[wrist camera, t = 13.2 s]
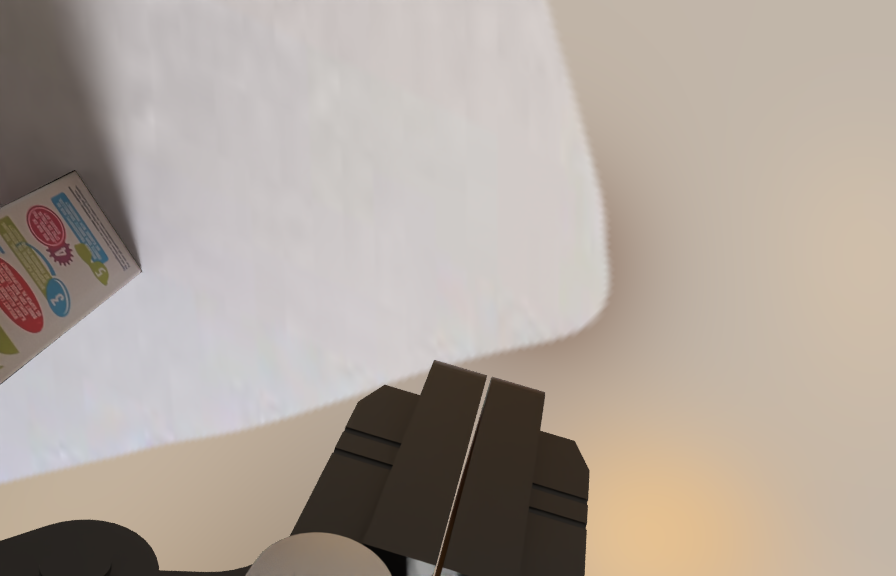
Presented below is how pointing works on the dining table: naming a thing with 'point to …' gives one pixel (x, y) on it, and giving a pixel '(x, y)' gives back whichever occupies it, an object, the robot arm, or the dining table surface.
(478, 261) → the dining table surface
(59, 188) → the juice carton
